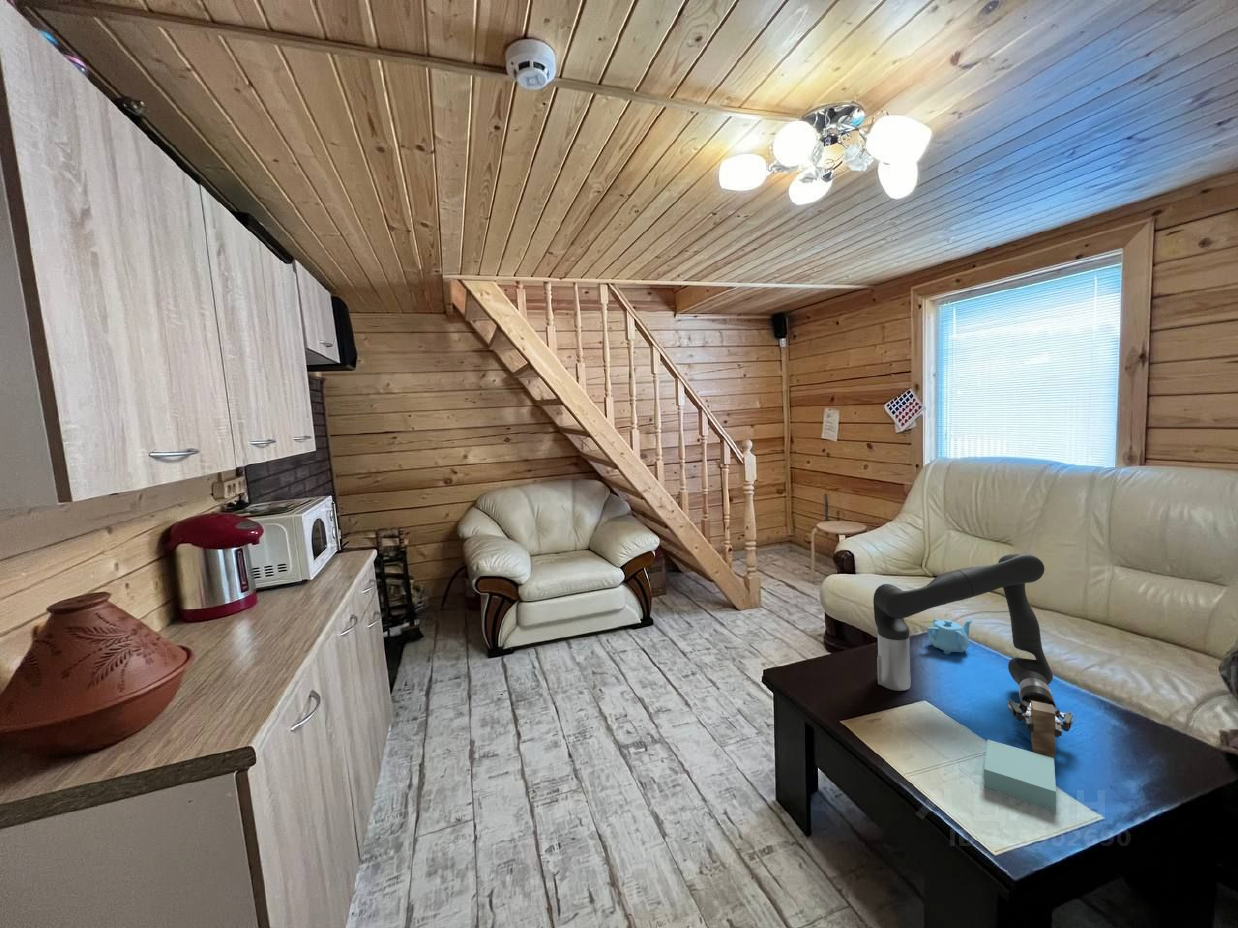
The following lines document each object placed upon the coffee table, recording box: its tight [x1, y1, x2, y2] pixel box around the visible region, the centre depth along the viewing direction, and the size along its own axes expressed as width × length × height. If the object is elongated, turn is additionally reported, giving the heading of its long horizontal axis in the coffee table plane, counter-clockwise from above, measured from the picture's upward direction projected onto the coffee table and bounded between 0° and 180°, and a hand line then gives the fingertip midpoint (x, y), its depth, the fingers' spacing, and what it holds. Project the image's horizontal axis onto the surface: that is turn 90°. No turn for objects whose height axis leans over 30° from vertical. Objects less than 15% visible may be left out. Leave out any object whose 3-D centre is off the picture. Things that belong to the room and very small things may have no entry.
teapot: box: [926, 618, 974, 655], centre depth 185 cm, size 13×14×11 cm
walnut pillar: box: [1030, 701, 1056, 759], centre depth 129 cm, size 4×4×12 cm
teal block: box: [983, 739, 1057, 812], centre depth 120 cm, size 13×13×5 cm
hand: (1044, 730), depth 127 cm, fingers closed on walnut pillar, 4 cm apart
